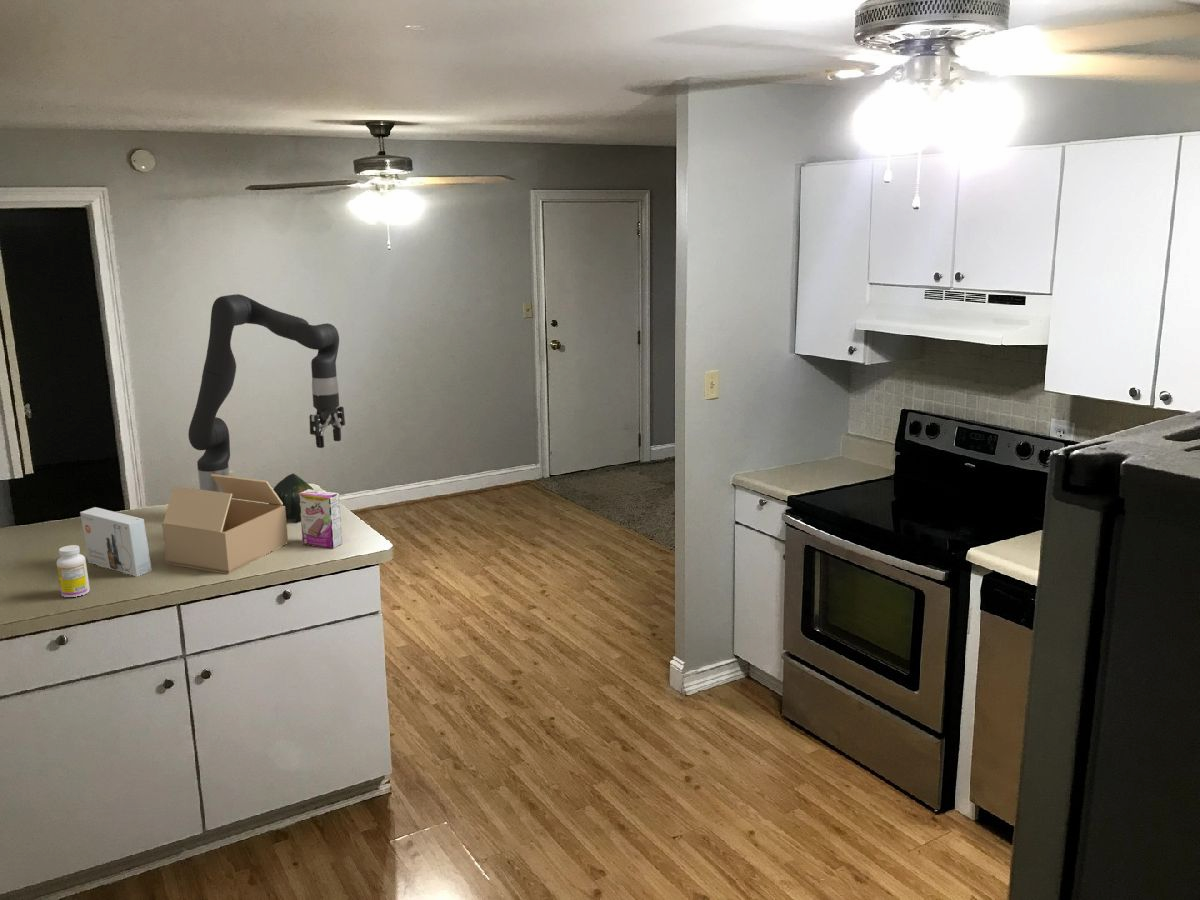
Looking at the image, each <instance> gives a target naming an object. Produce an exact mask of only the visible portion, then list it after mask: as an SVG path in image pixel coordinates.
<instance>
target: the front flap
mask: <svg viewBox="0 0 1200 900" xmlns="http://www.w3.org/2000/svg"><path fill="white" fill-rule="evenodd" d="M231 497H232V494H230V493H223V492H215V491H207V490H200V488H199V489H198V488H191V487H183V486H175V485H174V486H173V487H172V491H171V494H170V497H169V501H168V506H167V509H166V512H165V515H164V519H163V521H162V524H163V523H164V524H171V525H178V526H184V527H191V528H198V529H205V530H211V531H218V532H222V530H223V526H224V523H225V519H226V516H227V512H228V508H229V505H230V501H231Z"/></svg>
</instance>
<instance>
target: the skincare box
mask: <svg viewBox="0 0 1200 900" xmlns="http://www.w3.org/2000/svg"><path fill="white" fill-rule="evenodd" d="M79 514H80V519H81V524H82V525H81V526H82V531H83V537H84V543H85V547H86V554H87V560H88V564H90V563H93V564H96V565H99V566H98V567H100V566H102V567H101V568H103V567H106V568H105V569H107V568H110V569H113V570H117V571H121V572H124V573H127V574H130V575H129V576H131V575H133V576H132V577H134V576H139V577H141V576H143V575H142V574H144V575H145V573H146V574H148V573H147V572H149V573H151V572H152V571H153V570H152V563H151V558H150V550H149V543H148V538H147V533H146V532H147V531H146V526H145V519H144V518H141V517H137V516H133V515H129V514H126V513H121V512H117V511H113V510H108V509H105V508H101V507H96V506H94V507H91V508H88V509H85V510H83V511H80V512H79ZM93 564H92V565H93ZM96 565H95V566H96ZM110 569H109V570H110ZM113 570H112V571H113ZM117 571H116V572H117ZM150 571H151V572H150ZM124 573H123V574H124ZM127 574H126V575H127ZM140 575H141V576H140Z"/></svg>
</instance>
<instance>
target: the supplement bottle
mask: <svg viewBox="0 0 1200 900" xmlns="http://www.w3.org/2000/svg"><path fill="white" fill-rule="evenodd" d="M80 551H81V550H80V546H79V545H77V544H71V545H66V546H62V547H60V548H59V549H58V555H60V557H59V558H58V559H57V560H56V568H57V575H58V580H59V588H60V593H61V596H62V597H63V596H64V597H63V598H65V597H76V598H78V597H77V596H81V595H83V596H85V594H86V595H87V594H89V592H90V590H91V589H90V581H89V574H88V566H87V561H86V557H85V556H84V555H83V554H81V553H80ZM81 597H82V596H81Z"/></svg>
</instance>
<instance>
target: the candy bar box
mask: <svg viewBox="0 0 1200 900" xmlns="http://www.w3.org/2000/svg"><path fill="white" fill-rule="evenodd" d="M299 501H300V514H301V521H300V523H301V538H302V544H303V545H305V544H309V545H308V546H312V545H314V546H313V547H318V546H320V547H321V548H325V547H326V549H332V548H333V550H334V549H336V548H337V546H338V547H339V546H341V545H342V544H343V537H342V536H343V535H342V519H341V518H342V517H341V506H340V505H341V504H340V493H338V492H331V491H324V490H318V489H317V490H316V489H314V490H311V489H307V490H305V491H303V492H301V493H299ZM340 544H341V545H340ZM320 547H319V548H320ZM335 547H336V548H335Z"/></svg>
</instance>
